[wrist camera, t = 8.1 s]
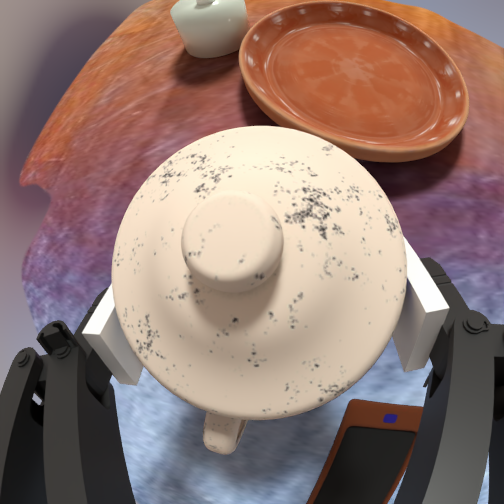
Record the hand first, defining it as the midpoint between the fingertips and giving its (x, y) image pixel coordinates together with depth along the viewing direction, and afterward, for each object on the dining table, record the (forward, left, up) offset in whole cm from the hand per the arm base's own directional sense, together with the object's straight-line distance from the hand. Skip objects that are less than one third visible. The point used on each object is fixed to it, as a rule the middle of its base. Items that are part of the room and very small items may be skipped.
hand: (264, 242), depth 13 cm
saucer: (-10, -19, -9) cm, 23 cm away
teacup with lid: (0, +3, -4) cm, 5 cm away
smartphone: (-6, +18, -9) cm, 21 cm away
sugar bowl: (+4, -28, -8) cm, 29 cm away
